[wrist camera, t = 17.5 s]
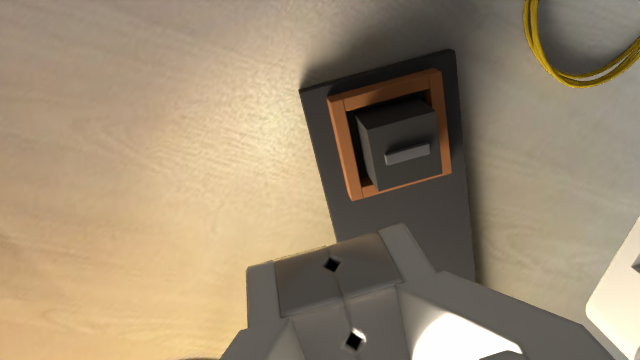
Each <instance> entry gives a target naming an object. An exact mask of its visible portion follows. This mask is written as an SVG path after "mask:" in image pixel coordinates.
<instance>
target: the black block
mask: <svg viewBox="0 0 640 360" xmlns="http://www.w3.org/2000/svg"><path fill="white" fill-rule="evenodd" d="M354 118H355V123H356V128H357V133H358V138H359V143H360V148H361V153H362V158H363V163H364V168H365V171H366V172H367V174H368V176H369V177H370V179H371V181H372V182H373V184H374V185H375V187H376V189H377V190H378V192H380V191H383V190H387V189H390V188H394V187H397V186H401V185H404V184H408V183H411V182H415V181H418V180H422V179H426V178H429V177H433V176H436V175H440V174H443V170H442V161H441V152H440V143H439V135H438V126H437V117H436V111H435V110H434V109H433V108H431V107H430V106H429V105H427V104H426V103H425V102H423V101H422V100H421V99H420V98H418V97H417V96H412V97H409V98H405V99H401V100H398V101H394V102H390V103H387V104H383V105H380V106H376V107H372V108H369V109H365V110H361V111H358V112H354Z"/></svg>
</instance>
